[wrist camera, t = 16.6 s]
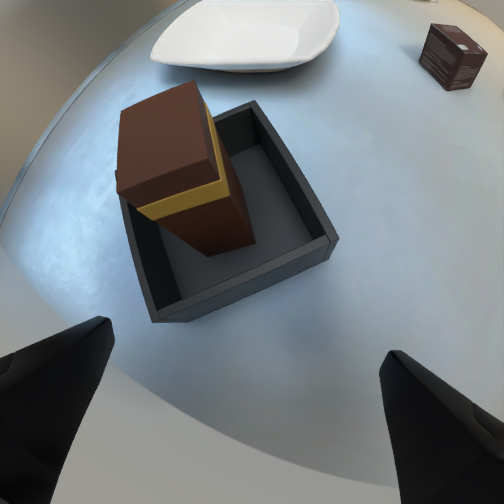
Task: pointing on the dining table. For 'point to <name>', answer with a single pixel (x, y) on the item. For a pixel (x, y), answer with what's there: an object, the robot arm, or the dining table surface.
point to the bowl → (248, 35)
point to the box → (452, 56)
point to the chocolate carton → (182, 171)
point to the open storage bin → (262, 220)
